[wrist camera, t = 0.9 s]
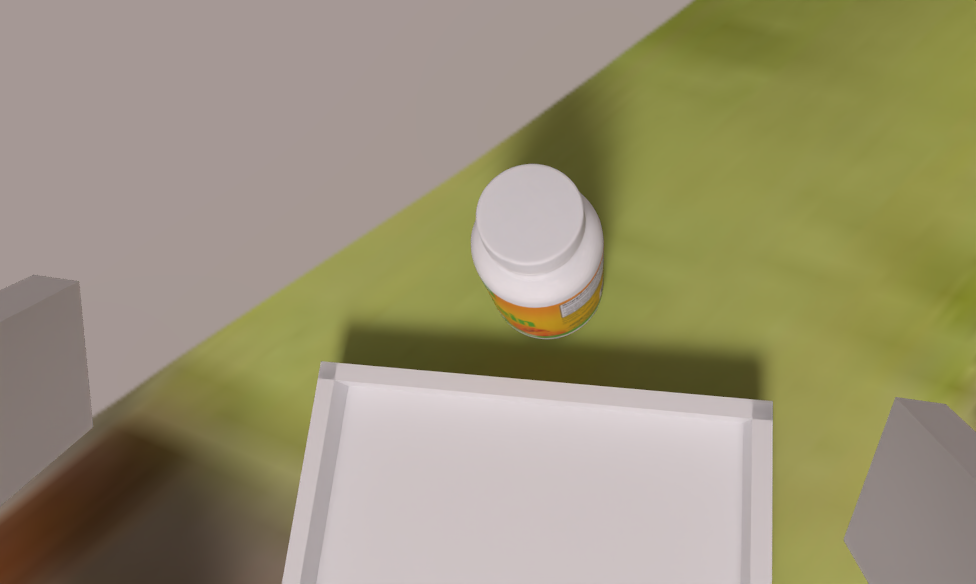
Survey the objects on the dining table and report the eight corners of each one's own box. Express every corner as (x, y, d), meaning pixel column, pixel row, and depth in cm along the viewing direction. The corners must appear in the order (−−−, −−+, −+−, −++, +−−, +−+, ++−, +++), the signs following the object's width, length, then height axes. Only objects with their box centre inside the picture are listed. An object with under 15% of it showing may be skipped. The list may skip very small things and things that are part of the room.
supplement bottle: (472, 290, 35) (425, 217, 26) (546, 216, 36) (527, 118, 26) (549, 364, 33) (529, 314, 24) (626, 285, 34) (635, 206, 25)
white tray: (759, 408, 31) (772, 401, 29) (756, 761, 28) (770, 786, 25) (340, 370, 35) (320, 361, 33) (288, 678, 31) (262, 693, 29)
